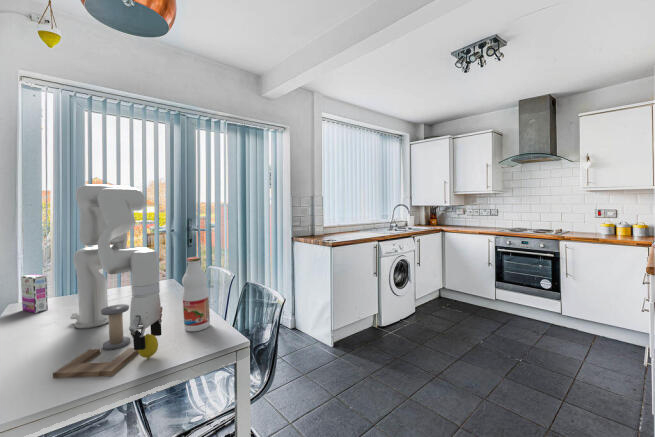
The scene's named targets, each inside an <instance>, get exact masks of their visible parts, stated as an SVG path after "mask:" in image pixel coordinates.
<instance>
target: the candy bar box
mask: <svg viewBox="0 0 655 437" xmlns="http://www.w3.org/2000/svg"><path fill="white" fill-rule="evenodd" d="M20 284H21V286H20V287H21V303H22V311H23V312H29V313H33V314H38V313H42V312H45V311H48V310H49V307H48V285H47V284H48V283H47V275H42V274H34V273H33V274H26V275H21V276H20Z"/></svg>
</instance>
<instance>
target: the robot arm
mask: <svg viewBox="0 0 655 437" xmlns="http://www.w3.org/2000/svg"><path fill="white" fill-rule="evenodd" d="M75 200H76V203H77V207H78V208H79V212H80V217H79V218H80V220H79V241H80V243H81V244H82V245H83V246H86V247H83V248H81V249H78V250H77V251H75V252H74V254H73V257H72V261H73V265H74V268H75V273H76V281H77V299H78V312H73V313H71V316H70V318H69V319H70V320H76V321H75V322H74V327H75V328H77V329H90V328H96V327H100V326H104V325H106V324H109V318H108V315H102V314H101V310H102V309H103V308H106V307H109V302H108V300H109V299H108V297H109V296H108V282H107V281H108V280H107V276H105V275H104V274H103V273H101V272H100V271H99V270H104V271H105V273H106V274H108V275H118V274H125V273H130V277H131V278H130V281H131V300H130V306H129V310H130V311H129V327H128V330H129V332H130V335H131V338H132V343H133V348H134V350H144V349H145V348H146V346H145V331H146V329H148V328H149V327H150V334H152V335H154V336H155V337H160V336H162V316H163V314H162V313H163V306H161V304H162V303H161V298H160V290H161V289H160V288H161V287H160V273H159V272H160V270H159V268H160V267H159V254H158V252H157V250H155V249H151V248H149V247H146V246H145V247H144V246H143V247H133V248H128V247H127V246H128V232H129V231H131V230H133V229H134V227H135V226H136V224H137V222H136V219H135V216H134V214H133V212H136V211H137V212H138V211H142V210H143V209H144V208H145V206H146V198H145V195H144V192H142V191H141V190H140V189H138V188H136V187H133V186H132V187H131V186H129V185H114V184H113V185H109V184H83V185H80V186H78V187H77V188H76V190H75ZM87 246H88V247H87ZM139 330H140V331H139Z"/></svg>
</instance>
